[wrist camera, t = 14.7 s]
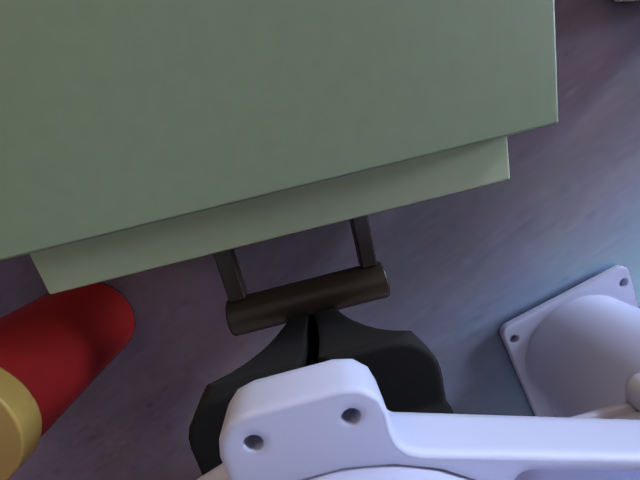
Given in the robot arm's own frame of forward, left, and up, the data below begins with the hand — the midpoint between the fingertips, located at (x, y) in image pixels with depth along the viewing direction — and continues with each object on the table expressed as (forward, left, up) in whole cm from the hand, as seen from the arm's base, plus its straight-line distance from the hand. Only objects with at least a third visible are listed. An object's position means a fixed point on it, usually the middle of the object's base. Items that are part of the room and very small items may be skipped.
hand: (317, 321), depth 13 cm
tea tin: (+5, +11, -3) cm, 12 cm away
